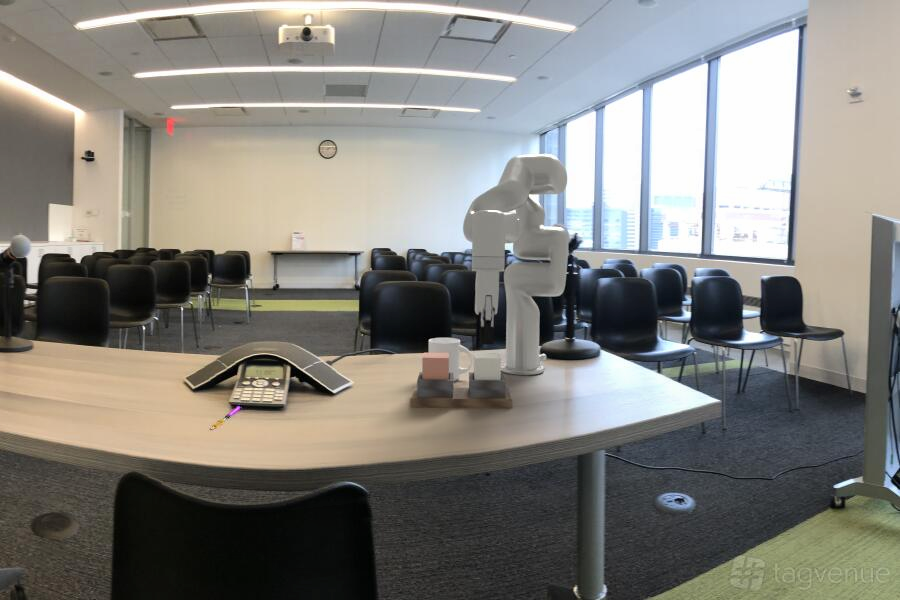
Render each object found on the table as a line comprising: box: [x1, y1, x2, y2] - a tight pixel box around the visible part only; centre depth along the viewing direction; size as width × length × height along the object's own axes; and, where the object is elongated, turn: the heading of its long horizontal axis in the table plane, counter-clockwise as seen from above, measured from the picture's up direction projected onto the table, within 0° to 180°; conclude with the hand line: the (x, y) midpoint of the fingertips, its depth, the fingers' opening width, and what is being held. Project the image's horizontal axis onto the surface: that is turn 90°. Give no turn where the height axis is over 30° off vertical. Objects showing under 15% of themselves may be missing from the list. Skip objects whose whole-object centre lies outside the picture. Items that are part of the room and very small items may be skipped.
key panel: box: [410, 371, 513, 409], centre depth 134 cm, size 23×10×6 cm, turn 89°
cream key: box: [473, 352, 502, 380], centre depth 134 cm, size 6×6×6 cm
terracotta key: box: [421, 352, 449, 380], centre depth 134 cm, size 6×6×6 cm
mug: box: [428, 337, 473, 382], centre depth 156 cm, size 9×12×11 cm
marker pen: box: [211, 405, 242, 428], centre depth 122 cm, size 3×1×16 cm
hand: (486, 343), depth 133 cm, fingers closed
